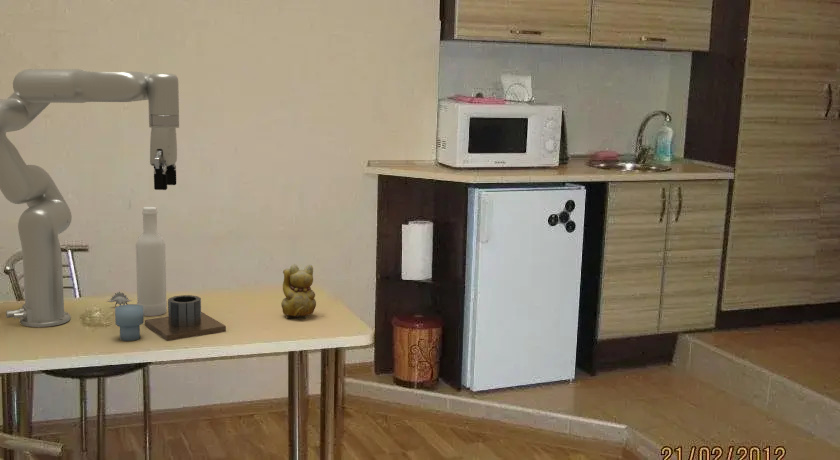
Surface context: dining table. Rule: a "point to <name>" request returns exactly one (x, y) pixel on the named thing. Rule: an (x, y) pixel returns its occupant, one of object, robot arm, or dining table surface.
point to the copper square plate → (184, 320)
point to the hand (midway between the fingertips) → (165, 187)
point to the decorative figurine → (298, 292)
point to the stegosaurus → (119, 299)
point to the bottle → (151, 266)
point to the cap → (129, 321)
